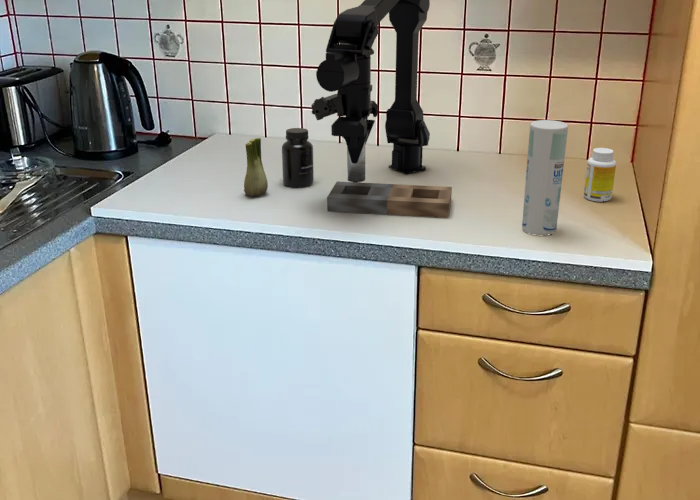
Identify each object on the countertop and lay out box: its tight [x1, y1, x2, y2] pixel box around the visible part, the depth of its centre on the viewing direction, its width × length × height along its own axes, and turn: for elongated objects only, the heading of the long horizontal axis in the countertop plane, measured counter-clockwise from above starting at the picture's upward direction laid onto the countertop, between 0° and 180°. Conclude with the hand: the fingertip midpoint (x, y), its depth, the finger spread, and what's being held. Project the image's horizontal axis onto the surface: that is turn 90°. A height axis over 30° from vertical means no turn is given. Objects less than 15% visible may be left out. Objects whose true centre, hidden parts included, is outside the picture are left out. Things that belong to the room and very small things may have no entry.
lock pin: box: [346, 143, 366, 183], centre depth 150 cm, size 4×4×10 cm
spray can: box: [521, 119, 569, 236], centre depth 137 cm, size 6×6×20 cm
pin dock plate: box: [326, 180, 453, 219], centre depth 153 cm, size 24×10×3 cm, turn 80°
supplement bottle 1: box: [281, 127, 315, 189], centre depth 165 cm, size 7×7×12 cm
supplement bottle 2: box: [583, 147, 617, 203], centre depth 154 cm, size 6×6×10 cm
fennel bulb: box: [243, 137, 268, 197], centre depth 158 cm, size 6×5×12 cm
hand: (356, 160), depth 151 cm, fingers closed on lock pin, 4 cm apart
